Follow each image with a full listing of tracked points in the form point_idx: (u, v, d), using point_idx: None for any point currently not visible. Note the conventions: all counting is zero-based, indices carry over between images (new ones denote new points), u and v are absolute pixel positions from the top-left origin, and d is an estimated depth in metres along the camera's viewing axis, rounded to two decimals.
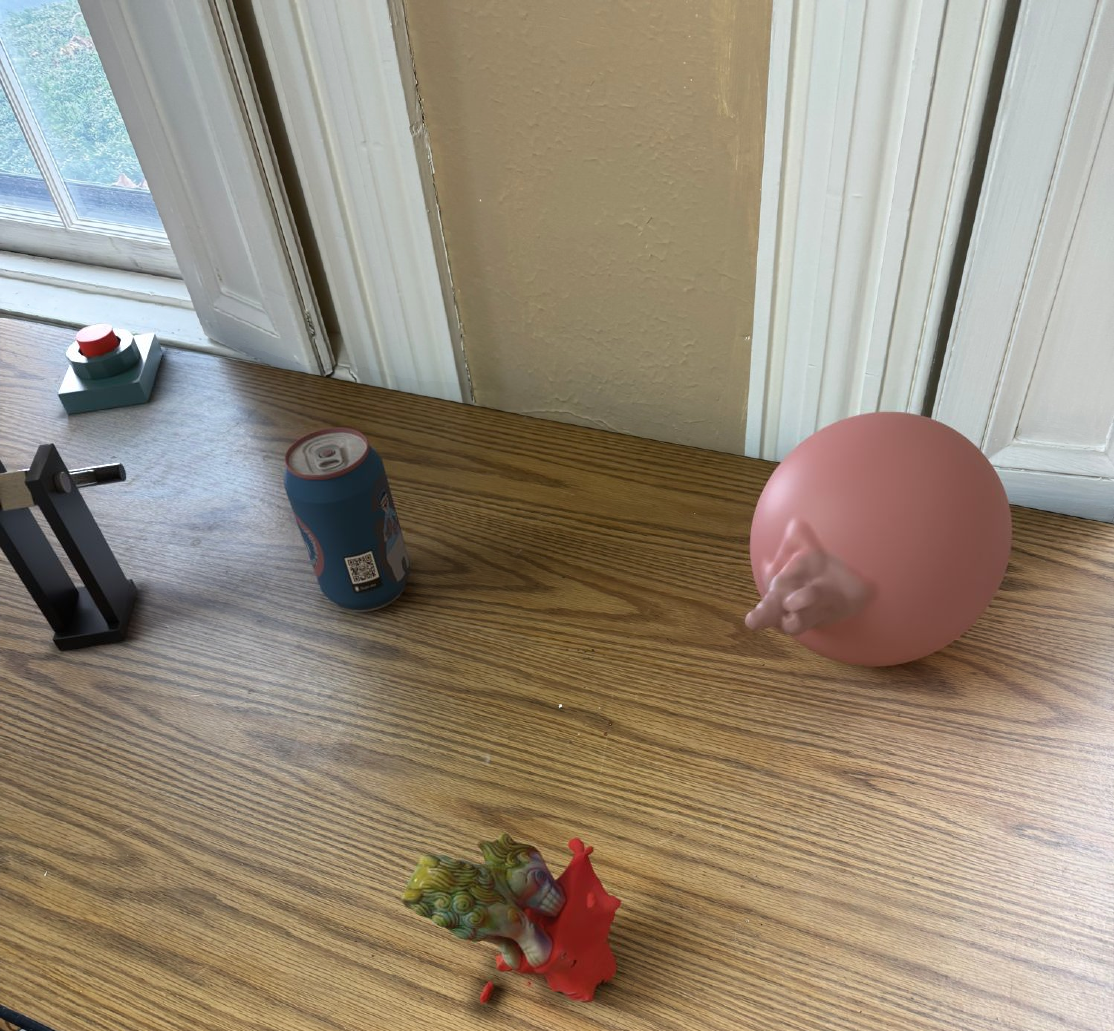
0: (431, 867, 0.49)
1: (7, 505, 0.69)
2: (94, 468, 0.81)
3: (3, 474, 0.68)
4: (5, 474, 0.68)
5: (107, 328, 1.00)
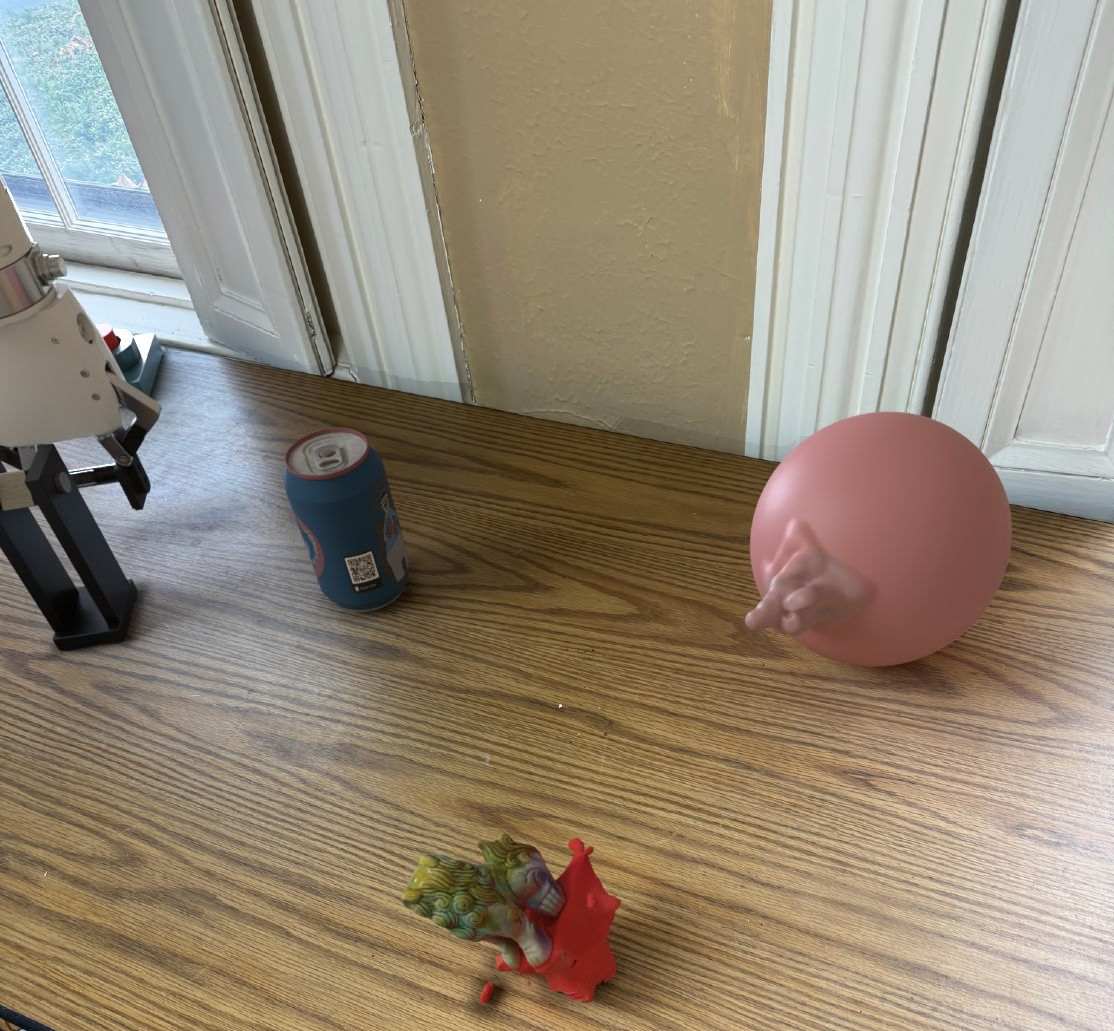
0: (431, 867, 0.49)
1: (7, 505, 0.69)
2: (94, 468, 0.81)
3: (3, 474, 0.68)
4: (5, 474, 0.68)
5: (107, 328, 1.00)
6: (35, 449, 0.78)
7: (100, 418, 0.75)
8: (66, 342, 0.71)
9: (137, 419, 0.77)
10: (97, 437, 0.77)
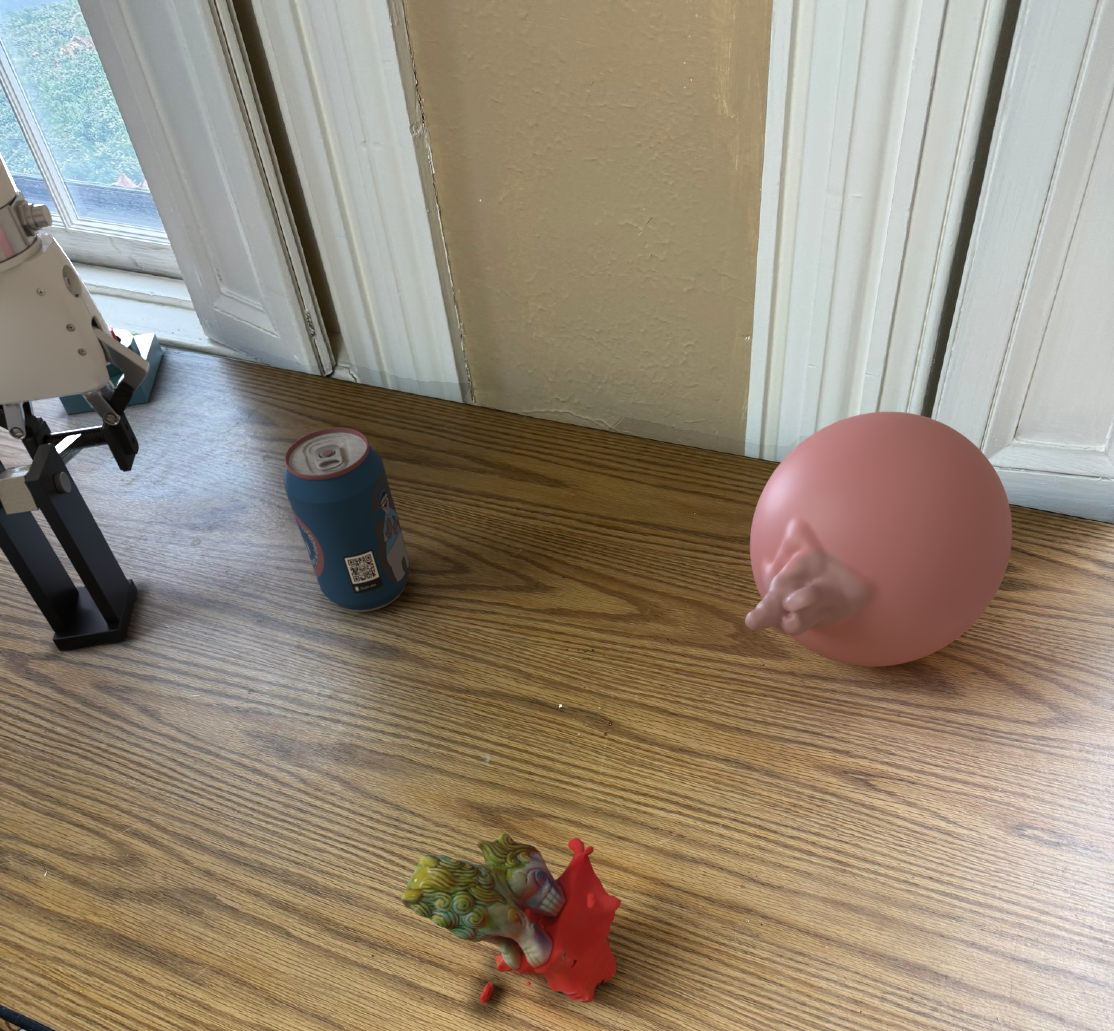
0: (431, 867, 0.49)
1: (10, 509, 0.69)
2: (81, 432, 0.79)
3: (3, 480, 0.68)
4: (5, 480, 0.68)
5: None
6: (20, 407, 0.76)
7: (86, 374, 0.74)
8: (52, 295, 0.70)
9: (124, 376, 0.76)
10: (84, 395, 0.76)
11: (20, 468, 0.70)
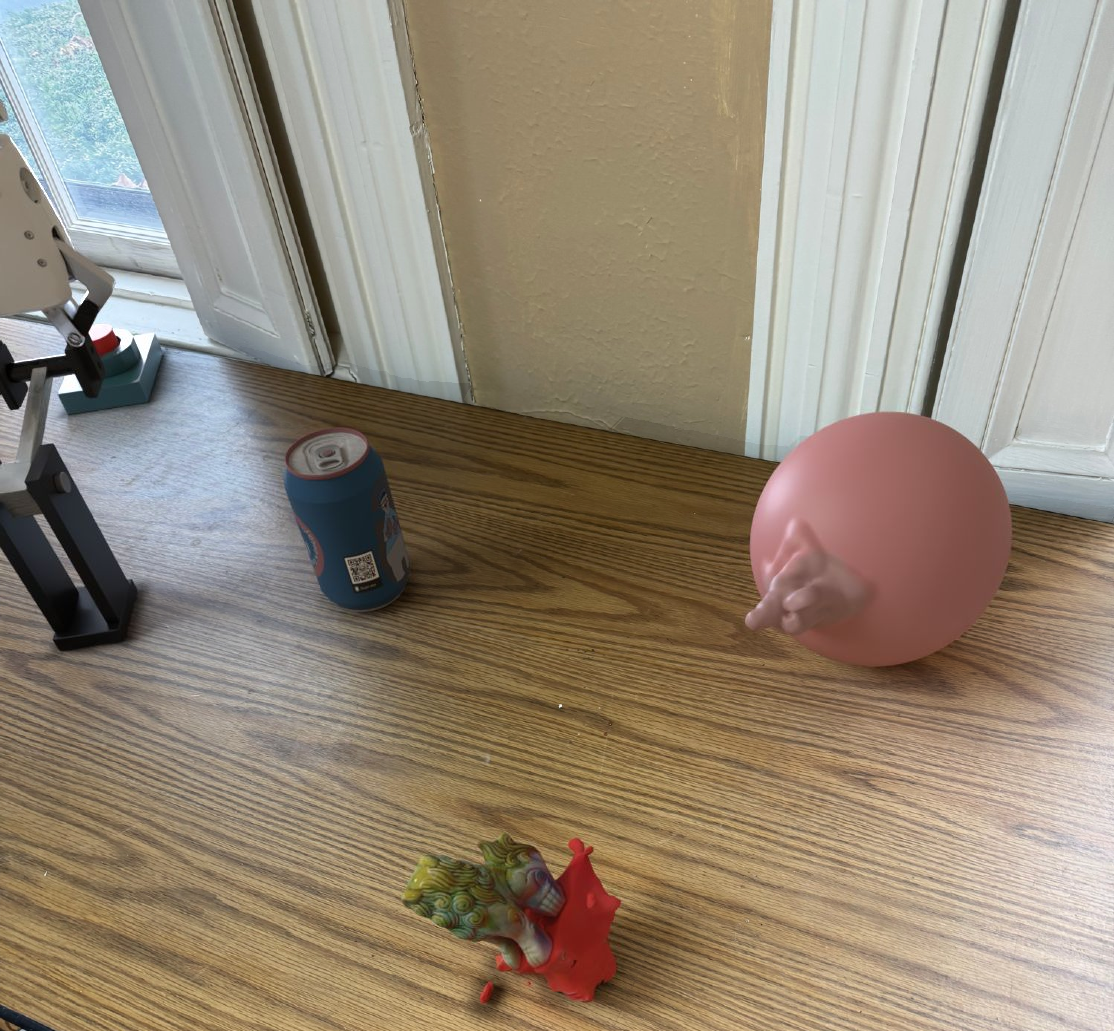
0: (431, 867, 0.49)
1: (17, 514, 0.70)
2: (46, 364, 0.75)
3: (6, 493, 0.68)
4: (8, 493, 0.68)
5: (107, 328, 1.00)
6: None
7: (47, 288, 0.70)
8: (8, 197, 0.65)
9: (89, 293, 0.72)
10: (45, 312, 0.72)
11: (15, 468, 0.69)
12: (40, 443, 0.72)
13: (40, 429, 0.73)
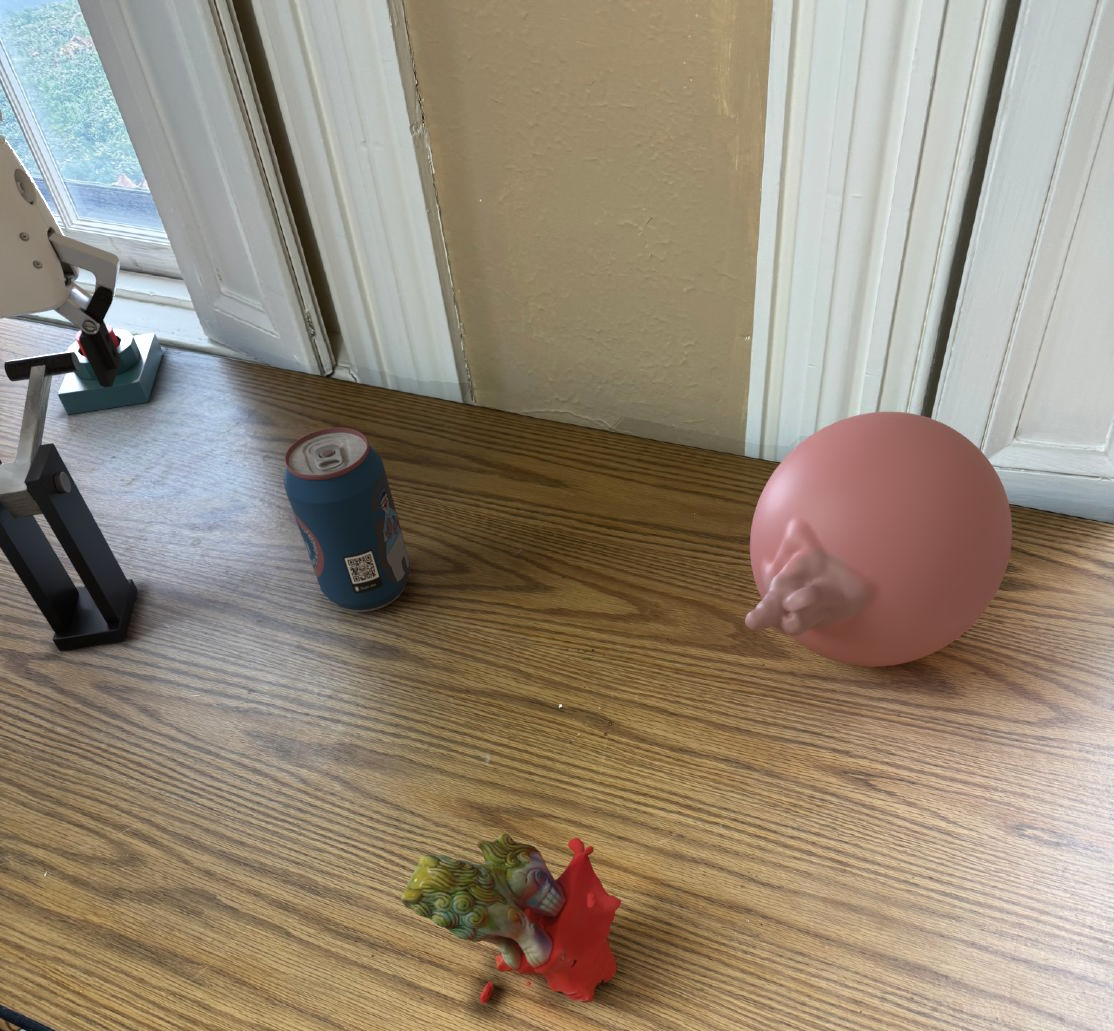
0: (431, 867, 0.49)
1: (17, 514, 0.70)
2: (45, 362, 0.75)
3: (6, 494, 0.68)
4: (8, 494, 0.68)
5: (107, 328, 1.00)
6: None
7: (43, 290, 0.69)
8: (2, 199, 0.65)
9: (97, 278, 0.70)
10: None
11: (15, 469, 0.69)
12: (40, 442, 0.72)
13: (40, 428, 0.73)
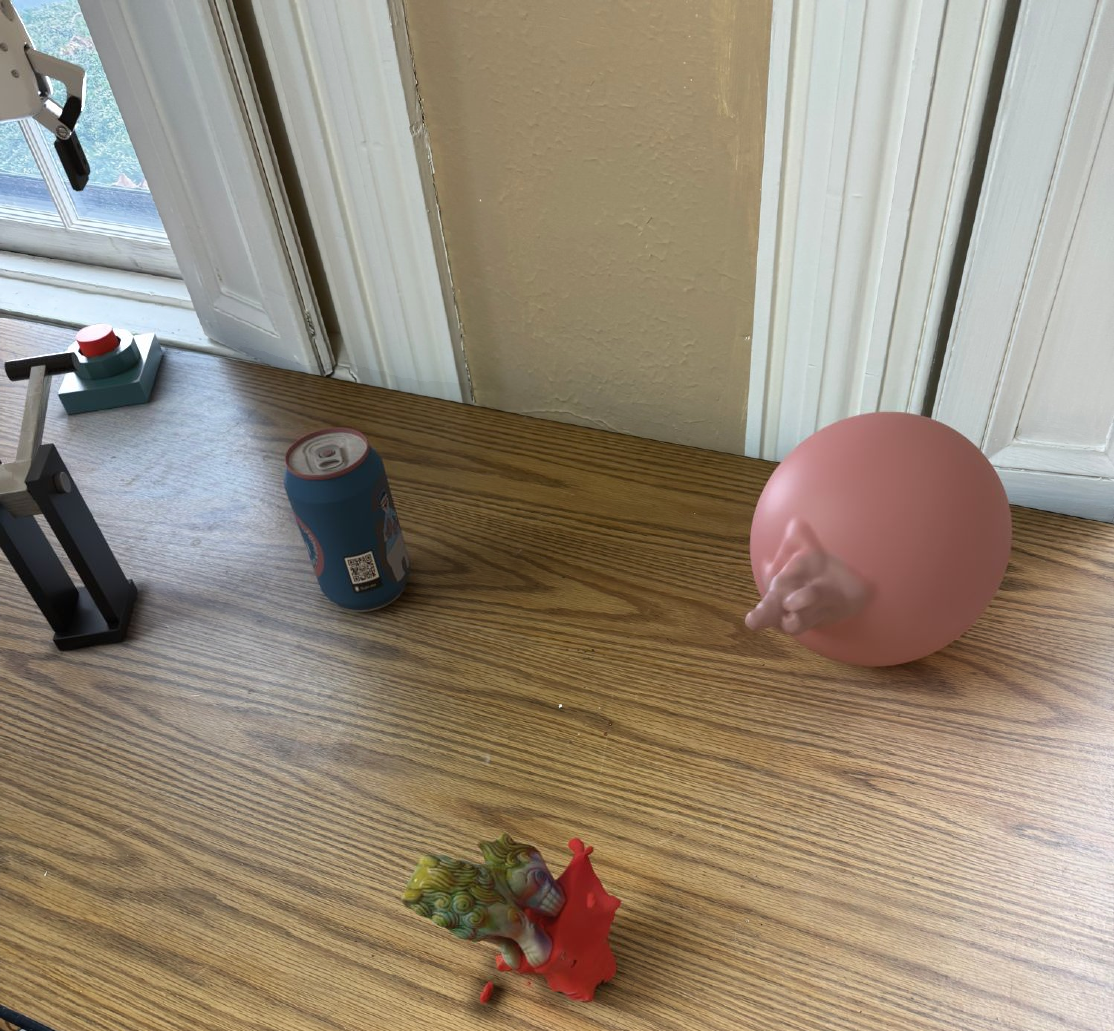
0: (431, 867, 0.49)
1: (17, 514, 0.70)
2: (45, 362, 0.75)
3: (6, 494, 0.68)
4: (8, 494, 0.68)
5: (107, 328, 1.00)
6: None
7: (20, 98, 0.82)
8: None
9: (67, 88, 0.84)
10: None
11: (15, 469, 0.69)
12: (40, 442, 0.72)
13: (40, 428, 0.73)
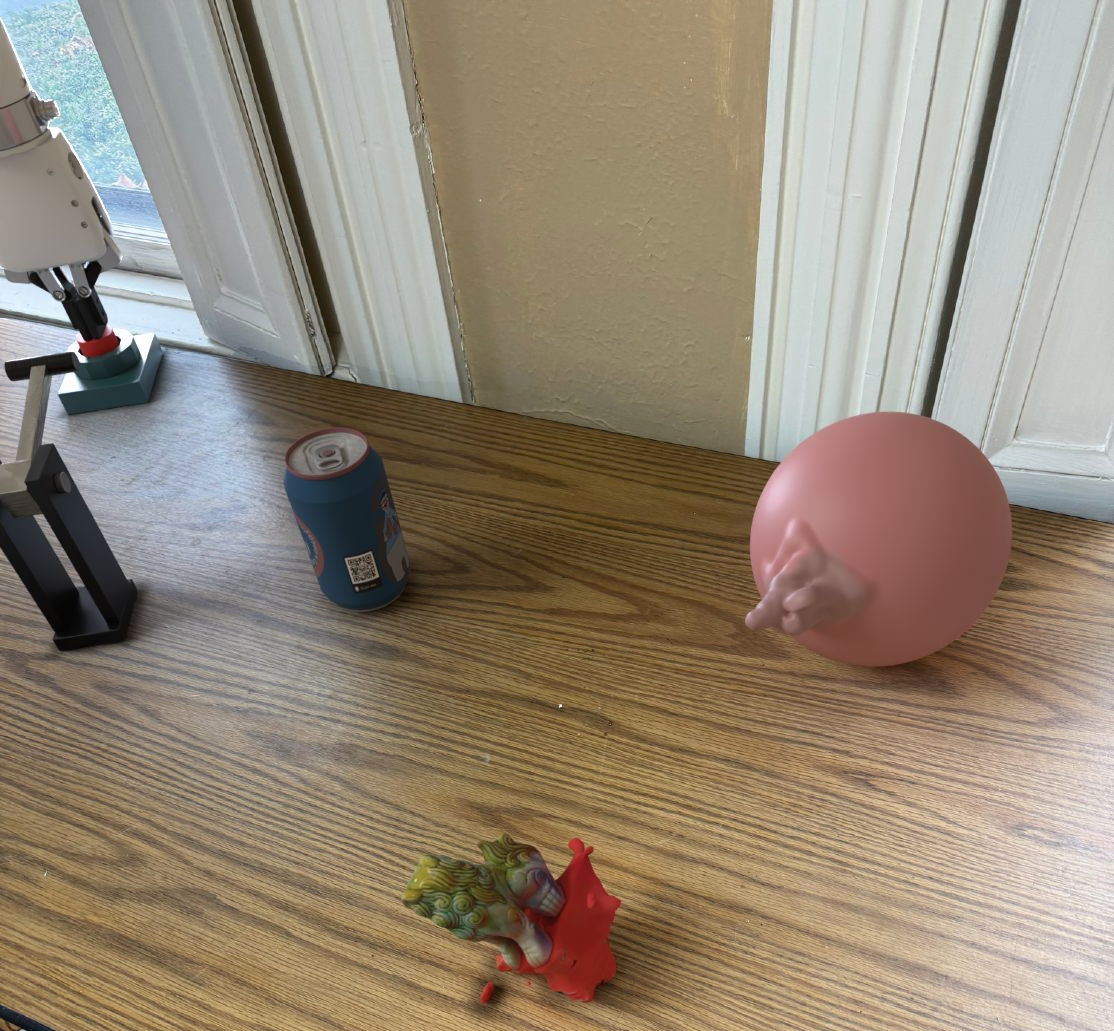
0: (431, 867, 0.49)
1: (17, 514, 0.70)
2: (45, 362, 0.75)
3: (6, 494, 0.68)
4: (8, 494, 0.68)
5: (108, 329, 1.00)
6: (50, 270, 0.94)
7: (87, 244, 0.92)
8: (59, 174, 0.87)
9: (100, 258, 0.94)
10: (70, 265, 0.94)
11: (15, 469, 0.69)
12: (40, 442, 0.72)
13: (40, 428, 0.73)
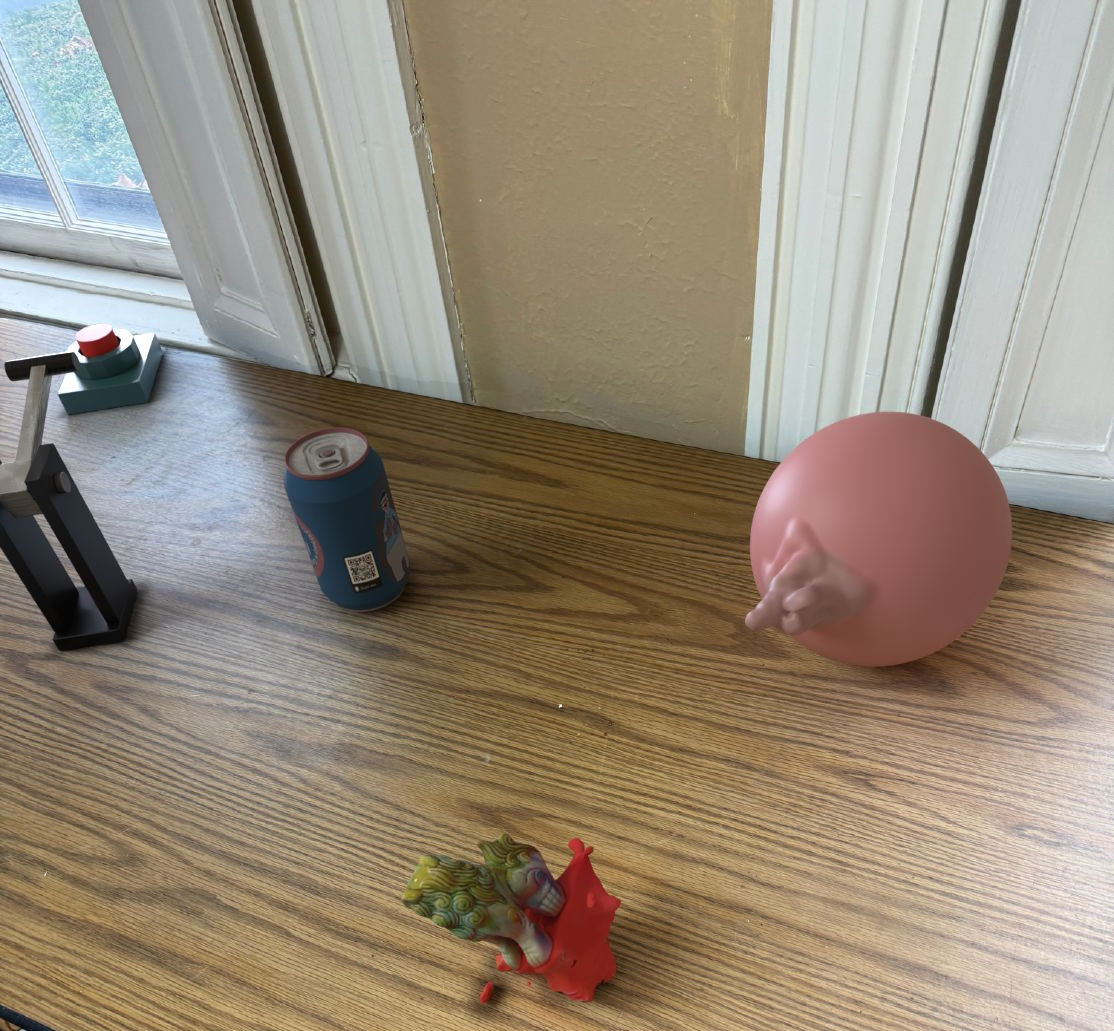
0: (431, 867, 0.49)
1: (17, 514, 0.70)
2: (45, 362, 0.75)
3: (6, 494, 0.68)
4: (8, 494, 0.68)
5: (107, 328, 1.00)
6: None
7: None
8: None
9: None
10: None
11: (15, 469, 0.69)
12: (40, 442, 0.72)
13: (40, 428, 0.73)
